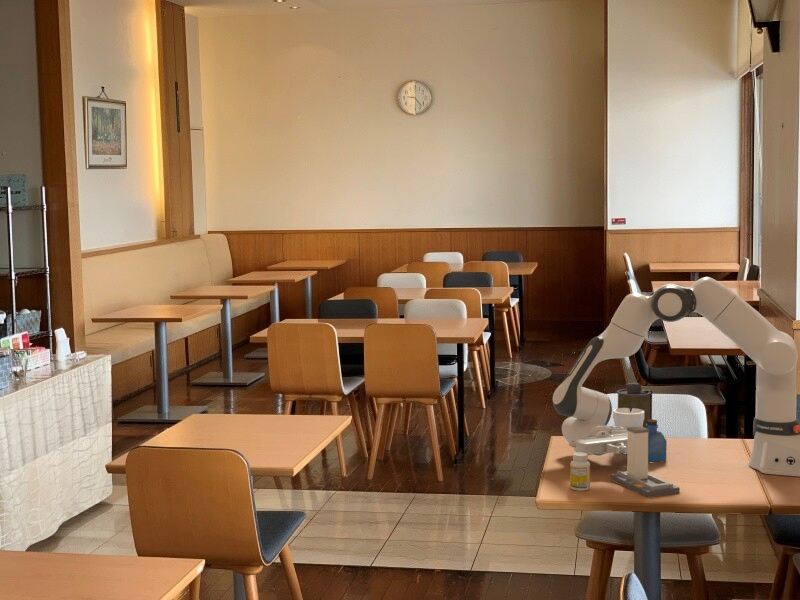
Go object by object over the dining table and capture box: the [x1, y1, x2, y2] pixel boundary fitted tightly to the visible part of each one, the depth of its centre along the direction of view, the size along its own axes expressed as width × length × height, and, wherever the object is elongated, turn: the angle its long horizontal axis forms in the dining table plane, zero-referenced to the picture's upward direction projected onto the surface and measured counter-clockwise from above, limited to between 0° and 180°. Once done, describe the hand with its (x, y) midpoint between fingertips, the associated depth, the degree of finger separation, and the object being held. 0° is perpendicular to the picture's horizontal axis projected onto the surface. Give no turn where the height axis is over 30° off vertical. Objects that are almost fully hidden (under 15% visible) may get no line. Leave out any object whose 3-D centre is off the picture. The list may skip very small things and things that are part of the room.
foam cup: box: [612, 407, 644, 455], centre depth 319 cm, size 10×9×13 cm
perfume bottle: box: [646, 418, 668, 463], centre depth 310 cm, size 6×6×12 cm
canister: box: [616, 382, 653, 428], centre depth 327 cm, size 11×10×20 cm
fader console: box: [610, 470, 681, 498], centre depth 283 cm, size 18×10×2 cm, turn 20°
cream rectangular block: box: [626, 426, 649, 479], centre depth 285 cm, size 4×4×14 cm
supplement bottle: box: [569, 451, 591, 492], centre depth 282 cm, size 5×5×10 cm
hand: (622, 450), depth 293 cm, fingers closed
